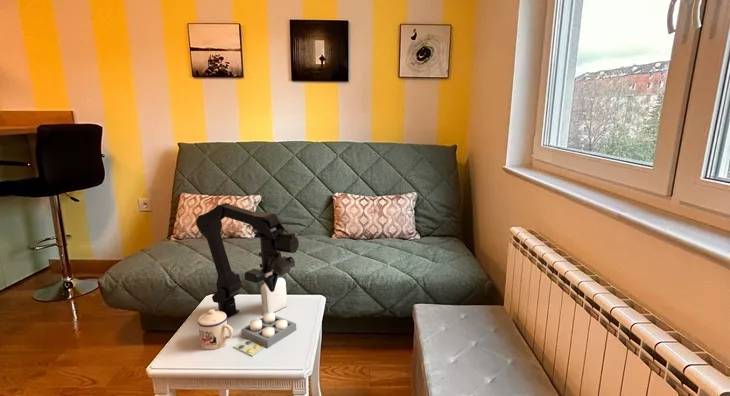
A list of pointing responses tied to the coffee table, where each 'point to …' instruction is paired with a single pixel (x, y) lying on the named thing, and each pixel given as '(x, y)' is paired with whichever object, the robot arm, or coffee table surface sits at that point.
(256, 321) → the button
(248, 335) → the lights out board
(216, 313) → the teacup with lid
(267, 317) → the button
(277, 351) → the coffee table surface
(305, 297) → the coffee table surface
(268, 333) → the button
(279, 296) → the photo printer
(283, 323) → the button
